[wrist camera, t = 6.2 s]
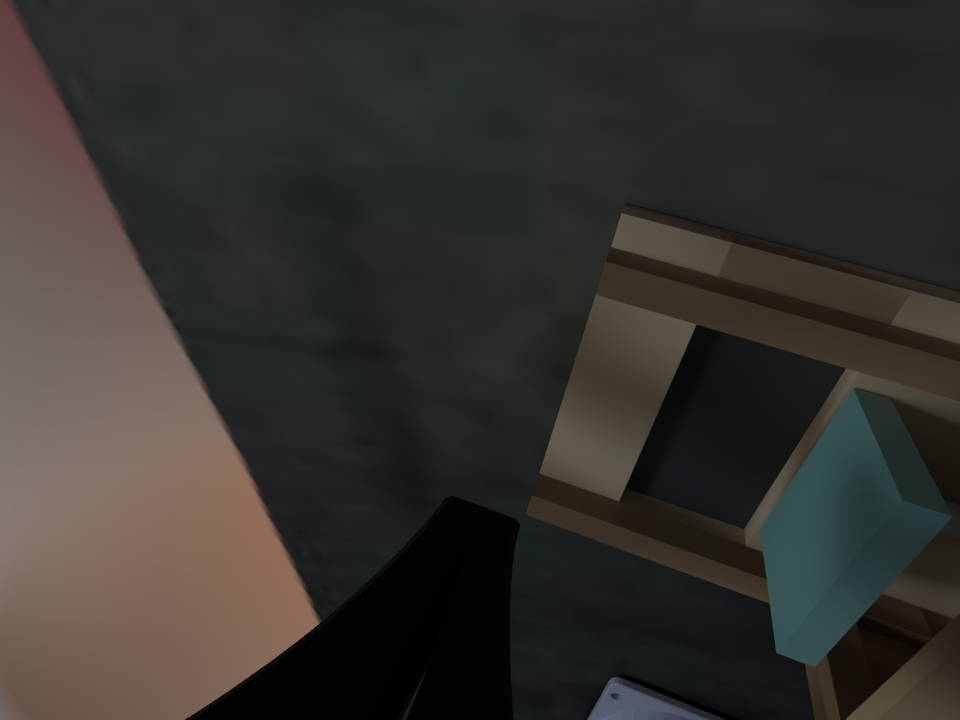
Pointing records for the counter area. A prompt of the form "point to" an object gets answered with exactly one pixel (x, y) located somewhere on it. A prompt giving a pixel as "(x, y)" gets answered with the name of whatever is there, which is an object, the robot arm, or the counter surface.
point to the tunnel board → (759, 430)
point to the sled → (848, 526)
